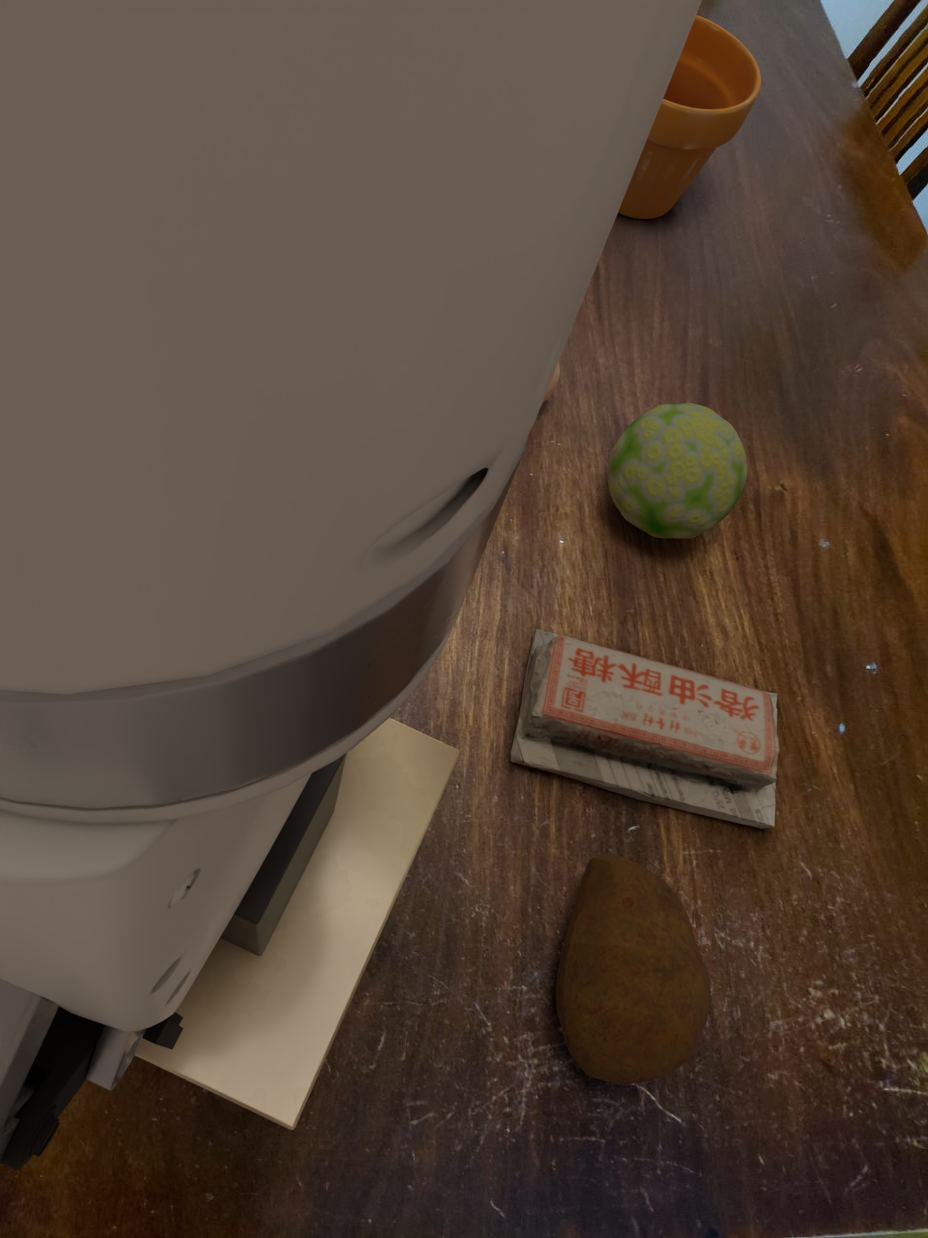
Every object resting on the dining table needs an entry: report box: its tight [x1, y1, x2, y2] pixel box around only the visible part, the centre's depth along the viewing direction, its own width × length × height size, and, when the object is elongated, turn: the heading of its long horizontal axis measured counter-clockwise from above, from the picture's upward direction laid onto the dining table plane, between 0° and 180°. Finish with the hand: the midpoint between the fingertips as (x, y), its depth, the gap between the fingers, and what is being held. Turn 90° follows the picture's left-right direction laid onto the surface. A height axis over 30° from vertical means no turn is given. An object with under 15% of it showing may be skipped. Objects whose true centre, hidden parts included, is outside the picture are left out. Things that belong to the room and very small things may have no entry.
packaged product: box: [510, 628, 781, 830], centre depth 61 cm, size 18×5×10 cm
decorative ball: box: [607, 402, 748, 540], centre depth 67 cm, size 10×10×10 cm
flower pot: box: [618, 14, 762, 220], centre depth 83 cm, size 14×14×13 cm
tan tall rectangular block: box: [134, 717, 461, 1131], centre depth 39 cm, size 10×11×30 cm
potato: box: [555, 851, 712, 1087], centre depth 51 cm, size 8×12×9 cm
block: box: [220, 753, 347, 956], centre depth 23 cm, size 4×4×6 cm
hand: (220, 830), depth 24 cm, fingers open, 9 cm apart
